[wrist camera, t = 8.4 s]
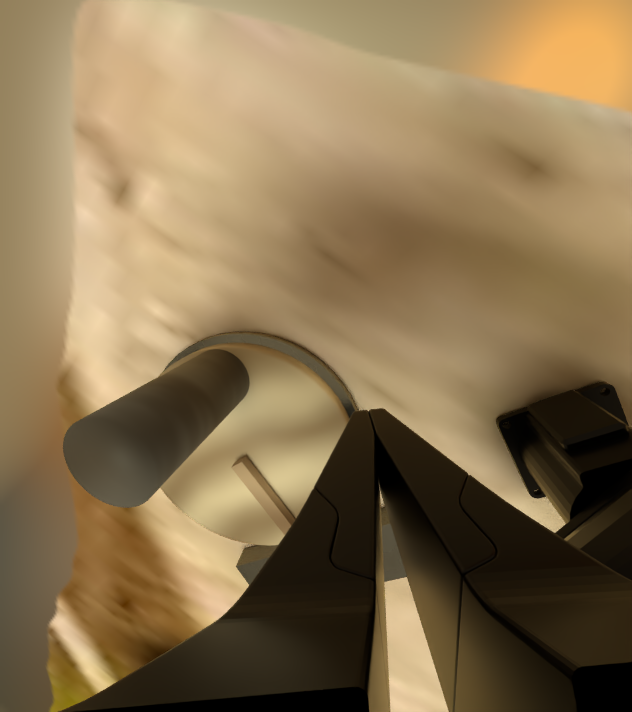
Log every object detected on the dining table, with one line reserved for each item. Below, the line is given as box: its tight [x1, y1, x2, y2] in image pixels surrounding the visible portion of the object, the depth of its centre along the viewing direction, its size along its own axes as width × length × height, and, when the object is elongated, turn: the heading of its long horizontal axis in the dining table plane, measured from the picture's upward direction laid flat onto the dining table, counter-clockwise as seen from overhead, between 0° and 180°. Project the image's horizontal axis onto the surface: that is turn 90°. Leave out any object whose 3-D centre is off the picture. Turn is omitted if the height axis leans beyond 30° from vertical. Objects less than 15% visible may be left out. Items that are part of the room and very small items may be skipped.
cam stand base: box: [163, 332, 407, 585], centre depth 24 cm, size 23×17×2 cm
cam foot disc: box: [63, 342, 349, 546], centre depth 19 cm, size 21×16×10 cm
